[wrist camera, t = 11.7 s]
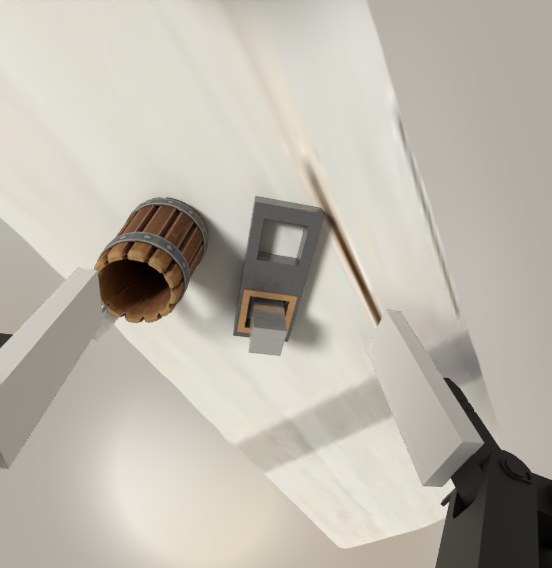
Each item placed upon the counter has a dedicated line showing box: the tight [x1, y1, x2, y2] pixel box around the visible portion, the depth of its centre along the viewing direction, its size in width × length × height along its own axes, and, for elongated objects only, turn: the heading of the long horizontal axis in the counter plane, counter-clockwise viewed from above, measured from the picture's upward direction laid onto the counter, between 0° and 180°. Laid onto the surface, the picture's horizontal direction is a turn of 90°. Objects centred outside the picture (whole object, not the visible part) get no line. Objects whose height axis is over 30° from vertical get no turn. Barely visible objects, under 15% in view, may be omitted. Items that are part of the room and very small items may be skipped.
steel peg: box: [249, 297, 287, 356], centre depth 46 cm, size 4×4×9 cm
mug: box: [92, 197, 208, 341], centre depth 38 cm, size 16×11×15 cm
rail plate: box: [233, 196, 324, 342], centre depth 46 cm, size 22×9×3 cm, turn 169°
